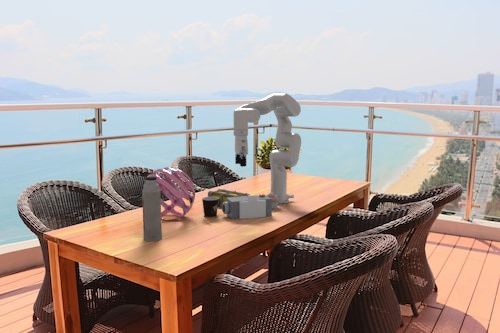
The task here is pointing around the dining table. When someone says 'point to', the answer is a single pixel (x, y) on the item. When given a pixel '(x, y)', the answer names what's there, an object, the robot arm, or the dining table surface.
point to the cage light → (225, 195)
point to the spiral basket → (175, 191)
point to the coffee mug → (210, 206)
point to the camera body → (233, 202)
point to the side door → (252, 208)
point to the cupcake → (273, 200)
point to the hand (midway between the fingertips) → (240, 165)
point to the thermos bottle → (151, 210)
